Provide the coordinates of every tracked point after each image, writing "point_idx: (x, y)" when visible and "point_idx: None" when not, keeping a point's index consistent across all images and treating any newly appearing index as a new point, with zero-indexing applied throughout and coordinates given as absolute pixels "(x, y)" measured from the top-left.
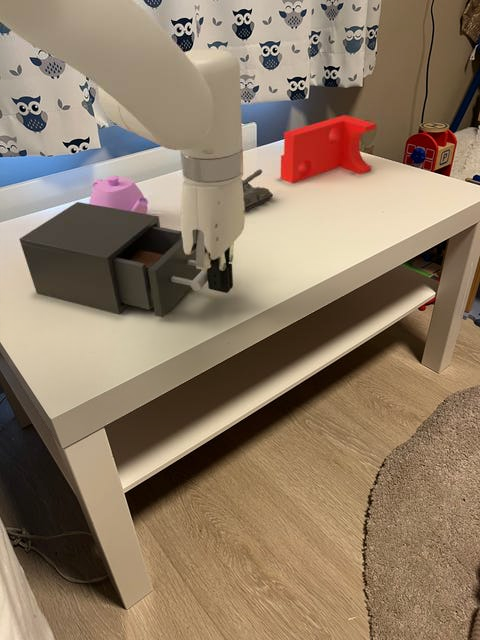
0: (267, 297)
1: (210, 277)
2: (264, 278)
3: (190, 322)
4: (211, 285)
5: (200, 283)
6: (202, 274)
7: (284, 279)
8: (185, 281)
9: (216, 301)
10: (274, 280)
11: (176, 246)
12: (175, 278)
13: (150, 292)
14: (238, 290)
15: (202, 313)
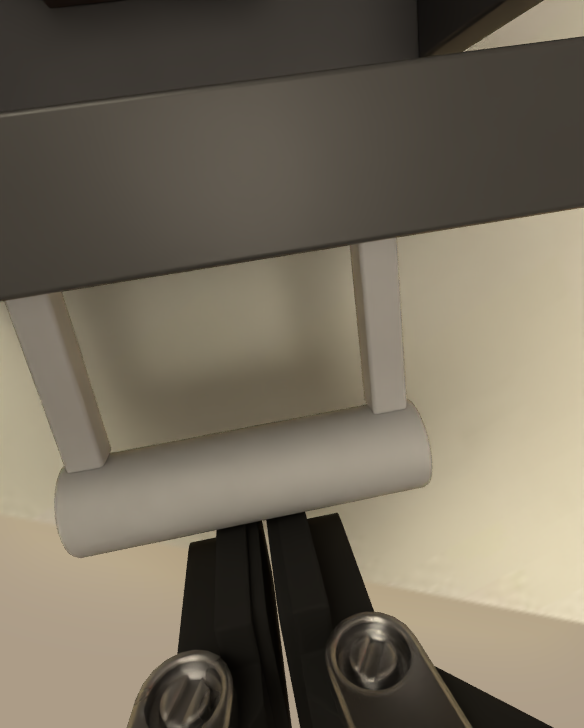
0: (427, 543)
1: (184, 602)
2: (560, 457)
3: None
4: (191, 548)
5: (98, 553)
6: (188, 525)
7: (577, 525)
8: (50, 427)
9: (294, 385)
10: (558, 499)
11: (254, 169)
12: (18, 323)
13: (18, 11)
14: (426, 417)
15: (168, 388)
